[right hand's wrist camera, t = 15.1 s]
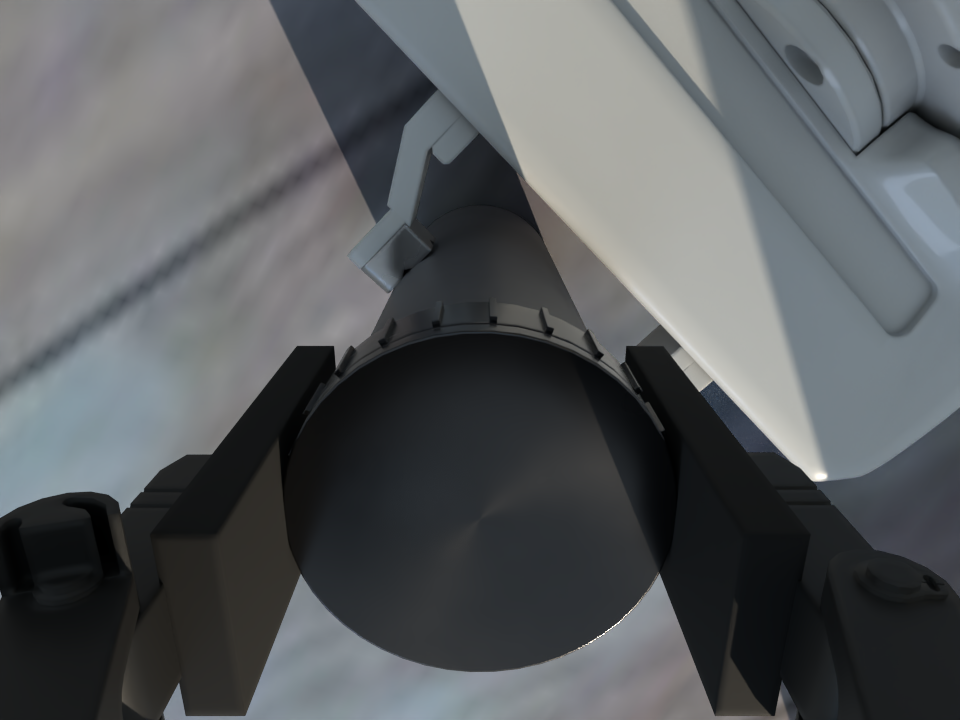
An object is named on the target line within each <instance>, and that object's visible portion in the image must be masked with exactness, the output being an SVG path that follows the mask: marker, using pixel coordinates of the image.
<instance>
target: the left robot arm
mask: <svg viewBox="0 0 960 720" xmlns="http://www.w3.org/2000/svg"><path fill="white" fill-rule="evenodd" d="M355 1H356V2H357V3H358V4H359V5H360V7H361V8H362V9H363V10H364V11H365V12H366V13H367V14H368V15H369V16H370V17H371V18H372V19H373V20H374V21H375V22H376V24H377V25H378V26H379V27H380V28H381V29H382V30H383V31H384V32H385V33H386V34H387V35H388V36H389V37H390V38H391V39H392V40H393V42H394V43H395V44H396V45H397V46H398V47H399V48H400V49H401V50H402V51H403V52H404V53H405V54H406V55H407V56H408V57H409V58H410V60H411V61H412V62H413V63H414V64H415V65H416V66H417V67H418V68H419V69H420V70H421V71H422V72H423V73H424V74H425V75H426V76H427V78H428V79H429V80H430V81H431V82H432V83H433V84H434V85H435V86H436V87H437V88H438V89H437V91H436V92H435V93H434V94H433V95H432V96H431V97H430V98H429V99H428V100H427V102H426V103H425V104H424V105H423V106H422V107H421V108H420V109H419V110H418V111H417V113H416V114H415V115H414V116H413V117H412V118H411V119H410V120H409V121H408V122H407V124H406V125H405V126H404V130H403V134H402V139H401V143H400V148H399V153H398V157H397V162H396V166H395V171H394V176H393V180H392V185H391V189H390V194H389V199H388V203H387V206H388V207H389V208H390V210H389V211H388V212H387V213H386V214H385V215H384V216H383V217H382V219H381V220H380V221H379V222H378V223H377V224H376V225H375V226H374V227H373V228H372V229H371V230H370V231H369V232H368V233H367V234H366V235H365V237H364V238H363V239H362V240H361V241H360V242H359V243H358V244H357V245H356V246H355V247H354V248H353V249H352V250H351V252H350V253H349V254H348V255H347V257H348V258H349V259H350V260H351V261H352V262H353V263H354V264H355V265H356V266H357V267H358V268H359V269H361V270H362V271H363V272H364V273H365V274H366V275H368V276H369V277H370V278H371V279H372V280H373V281H374V282H375V283H376V284H378V285H379V286H380V287H381V288H382V289H383V290H384V291H385V292H386V293H389V292H391V291H392V290H393V289H394V288H395V287H396V286H397V284H398V283H399V282H400V281H401V280H402V278H403V276H404V274H405V272H406V270H407V269H411V268H413V267H415V266H416V265H417V264H418V263H420V262H421V261H422V260H423V259H424V257H425V256H426V255H427V254H428V253H429V252H430V251H431V250H432V248H433V244H434V242H435V239H436V238H435V237H434V236H433V235H432V234H431V233H430V232H429V231H428V230H427V229H426V228H425V227H424V226H423V225H422V224H421V223H420V222H419V221H418V220H417V219H416V218H415V217H416V215H417V211H418V207H419V203H420V199H421V195H422V190H423V186H424V182H425V178H426V174H427V170H428V166H429V162H430V158H431V154H432V151H433V155H434V156H435V157H436V158H437V159H438V160H439V161H440V162H441V163H442V164H450V163H451V162H452V161H453V160H454V159H455V158H456V157H457V156H458V155H459V154H460V153H461V152H462V151H463V150H464V149H465V148H466V147H467V146H468V144H469V143H470V142H471V141H472V140H473V139H474V138H475V137H476V136H477V135H478V134H479V133H480V134H481V135H482V136H483V137H484V138H485V139H486V140H487V141H488V142H489V143H490V144H491V145H492V146H493V147H494V148H495V150H496V151H497V152H498V153H499V154H500V155H501V156H502V157H503V158H504V159H505V160H506V161H507V162H508V163H509V164H510V165H511V166H512V168H513V169H514V170H515V171H516V172H517V173H518V174H519V175H520V176H521V177H522V178H523V179H524V180H525V181H526V182H527V183H528V184H529V186H530V187H531V188H532V189H533V190H534V191H535V192H536V193H537V194H538V195H539V196H540V197H541V198H542V199H543V200H544V201H545V202H546V203H547V205H548V206H549V207H550V208H551V209H552V210H553V211H554V212H555V213H556V214H557V215H558V216H559V217H560V218H561V219H562V220H563V221H564V223H565V224H566V225H567V226H568V227H569V228H570V229H571V230H572V231H573V232H574V233H575V234H576V235H577V236H578V237H579V238H580V239H581V241H582V242H583V243H584V244H585V245H586V246H587V247H588V248H589V249H590V250H591V251H592V252H593V253H594V254H595V255H596V256H597V257H598V259H599V260H600V261H601V262H602V263H603V264H604V265H605V266H606V267H607V268H608V269H609V270H610V271H611V272H612V273H613V274H614V275H615V277H616V278H617V279H618V280H619V281H620V282H621V283H622V284H623V285H624V286H625V287H626V288H627V289H628V290H629V291H630V292H631V293H632V295H633V296H634V297H635V298H636V299H637V300H638V301H639V302H640V303H641V304H642V305H643V306H644V307H645V308H646V309H647V310H648V311H649V313H650V314H651V315H652V316H653V317H654V318H655V319H656V320H657V321H658V322H659V323H660V325H659V326H658V327H657V328H656V329H655V330H653V331H652V332H651V333H650V334H649V335H648V336H647V337H646V338H645V339H643V340H642V341H641V342H640V343H639V344H638V345H637V346H664V347H665V349H666V350H667V351H668V353H669V354H670V355H671V356H672V358H673V359H674V360H675V361H676V363H677V364H678V365H679V367H680V368H681V369H682V370H683V372H684V373H685V374H686V376H687V377H688V378H689V379H690V381H691V382H692V383H693V384H694V386H695V387H696V388H697V390H698V391H699V392H700V391H701V390H702V389H704V388H705V387H706V386H707V385H708V384H710V383H711V382H712V381H713V380H714V381H715V382H716V383H717V385H718V386H719V387H720V388H721V389H722V390H723V391H724V392H725V393H726V394H727V395H728V396H729V397H730V398H731V399H732V400H733V401H734V403H735V404H736V405H737V406H738V407H739V408H740V409H741V410H742V411H743V412H744V413H745V414H746V415H747V416H748V417H749V418H750V419H751V421H752V422H753V423H754V424H755V425H756V426H757V427H758V428H759V429H760V430H761V431H762V432H763V433H764V434H765V435H766V436H767V437H768V438H769V440H770V441H771V442H772V443H773V444H774V445H775V446H776V447H777V448H778V449H779V450H780V451H781V452H782V453H783V454H784V455H785V456H786V457H787V459H788V460H789V461H790V462H791V463H793V464H794V465H796V466H798V467H800V468H801V469H802V470H803V471H804V473H805V474H806V475H807V476H808V477H809V478H810V479H811V480H812V481H832V480H842V479H850V478H857V477H860V476H863V475H865V474H868V473H870V472H872V471H873V470H875V469H877V468H878V467H880V466H882V465H883V464H885V463H887V462H888V461H889V460H891V459H892V458H894V457H895V456H896V455H898V454H899V453H901V452H902V451H903V450H905V449H906V448H908V447H909V446H910V445H912V444H913V443H915V442H916V441H917V440H919V439H920V438H921V437H923V436H924V435H925V434H927V433H928V432H929V431H931V430H932V429H933V428H935V427H936V426H937V425H938V424H940V423H941V422H942V421H944V420H945V419H946V418H947V417H949V416H950V415H951V414H952V413H954V412H955V411H956V410H957V409H959V408H960V0H355Z"/></svg>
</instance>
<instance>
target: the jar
mask: <svg viewBox="0 0 960 720" xmlns="http://www.w3.org/2000/svg"><path fill="white" fill-rule="evenodd" d="M427 230H428V231H429V232H430V233H431V234H432V235H433V236H434V237H435V238H436V239H435V242H434V244H433V248H432V250H431V251H430V252H429V253H428V254H427V255H426V256H425V257H424V259H423V260H422V261H421V262H420V263H418V264H417V265H416V266H415V267H413V268H411V269H407V270H406V272H405V274H404V276H403V278H402V280H401V281H400V282H399V283H398V284H397V286H396V287H395V288H394V290H393V292H392V294H391V296H390V298H389V300H388V302H387V304H386V306H385V308H384V310H383V312H382V314H381V316H380V318H379V320H378V322H377V324H376V326H375V328H374V330H373V332H372V334H371V335H373V334H374V333H376V332H377V331H379V330H381V329H382V328H384V326H385V324H386V322H387V320H388V319H390V318H392V317H393V318H394V320H395V321H397V320H399V319H402V318H404V317H406V316H409V315H411V314H413V313H416V312H419V311H423V310H426V309H430V308H434V307H435V305H436V302H437V301H443V304H444V305H448V304H455V303H462V302H489V297H495V298H496V303H505V304H514V305H518V306H522V307H526V308H530V309H534V310H539V311H540V309H541V307H544V308H547V309H548V312H549V314H550V315H551V316H554V317H557V318H559V319H562V320H563V321H565V322H567V323H569V324H571V325H573V326H574V327H576V328H578V329H580V330H582V331H583V332H586V331H587V330H586V328H585V325H584V323H583V321H582V319H581V317H580V315H579V313H578V311H577V309H576V307H575V305H574V303H573V301H572V299H571V297H570V295H569V293H568V291H567V289H566V287H565V285H564V283H563V281H562V278H561V276H560V274H559V272H558V270H557V268H556V266H555V264H554V262H553V260H552V258H551V256H550V254H549V252H548V250H547V248H546V246H545V244H544V242H543V240H542V239H541V237H540V236H539V234H538V233H537V232H536V231H535V229H534V228H533V227H532V226H531V225H530V224H529V223H527V222H526V221H525V220H524V219H522V218H521V217H519V216H518V215H516V214H514V213H512V212H510V211H508V210H505V209H502V208H499V207H494V206H486V205H474V206H467V207H462V208H459V209H456V210H453V211H450V212H448V213H446V214H444V215H443V216H441V217H440V218H438V219H437V220H435V221H434V222H433V223H432V224H431V225H430V226H429V227H428V228H427Z"/></svg>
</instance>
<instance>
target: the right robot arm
mask: <svg viewBox="0 0 960 720" xmlns="http://www.w3.org/2000/svg"><path fill="white" fill-rule="evenodd" d="M625 363H626V364H627V365H628V367H629V368H630V370H631V372H632V374H633V375H634V377H635V379H636V380H637V382H638V384H639V386H640V387H641V389H642V391H643V392H641V393H640V395H641V397H642V399H643V401H644V402H645V403H647V402H649V403H650V405H651V406H652V408H653V410H654V412H655V413H656V415H657V417H658V418H659V420H660V422H661V424H662V425H663V427H664V429H665V431H666V433H667V436H664V439H665V441H666V444H667V447H668V449H669V452H670V455H671V457H672V461H673V465H674V470H675V475H676V480H677V509H676V517H675V526H674V534H673V540H672V543H671V547H670V550H669V553H668V555H667V558H666V560H665V562H664V565H663V567H662V570H661V571H660V575H661V578H662V580H663V583H664V586H665V588H666V591H667V593H668V596H669V598H670V601H671V604H672V606H673V609H674V611H675V614H676V616H677V619H678V622H679V624H680V627H681V629H682V632H683V634H684V637H685V640H686V642H687V645H688V647H689V650H690V652H691V655H692V658H693V660H694V663H695V665H696V668H697V670H698V673H699V676H700V678H701V681H702V683H703V686H704V688H705V691H706V694H707V696H708V699H709V701H710V704H711V706H712V709H713V712H714V714H715V716H775V711H776V706H777V701H778V696H779V691H780V686H781V681H783V683H784V684H785V686H786V688H787V690H788V692H789V694H790V696H791V698H792V699H793V701H794V703H795V705H796V707H797V714H796V718H795V720H960V598H959V596H958V595H957V594H956V593H955V591H954V590H953V589H952V588H951V587H950V585H949V584H948V583H947V582H946V581H945V580H944V579H942V578H941V577H939V576H938V575H937V574H935V573H934V572H932V571H931V570H929V569H928V568H926V567H924V566H922V565H920V564H918V563H915V562H913V561H911V560H909V559H906V558H904V557H901V556H898V555H894V554H890V553H886V552H882V551H877V550H874V549H873V548H872V547H871V546H870V545H869V544H868V543H867V541H866V540H865V539H864V538H863V537H862V536H861V535H860V534H859V533H858V531H857V530H856V529H855V528H854V527H853V526H852V525H851V524H850V523H849V521H848V520H847V519H846V518H845V517H844V516H843V515H842V514H841V513H840V511H839V510H838V509H837V508H836V507H835V506H834V505H831V504H830V500H829V499H828V498H827V497H826V496H825V495H824V494H823V493H822V491H821V490H817V486H816V485H815V484H814V483H813V481H812V480H811V479H810V478H809V477H808V476H807V475H806V474H805V473H804V471H803V470H802V469H801V468H800V467H798V466H796V465H794V464H793V463H791V462H789V461H788V460H786V459H784V458H782V457H781V456H779V455H777V454H776V453H774V452H746V451H745V450H744V448H743V447H742V446H741V444H740V443H739V442H738V441H737V439H736V438H735V437H734V436H733V434H732V433H731V432H730V430H729V429H728V428H727V427H726V425H725V424H724V423H723V421H722V420H721V419H720V418H719V416H718V415H717V414H716V413H715V411H714V410H713V409H712V407H711V406H710V405H709V404H708V402H707V401H706V400H705V398H704V397H703V396H702V395H701V393H700V392H699V391H698V390H697V388H696V387H695V386H694V384H693V383H692V382H691V381H690V379H689V378H688V377H687V376H686V374H685V373H684V372H683V370H682V369H681V368H680V367H679V365H678V364H677V363H676V361H675V360H674V359H673V358H672V356H671V355H670V354H669V353H668V351H667V350H666V349H665V347H664V346H626V358H625ZM335 370H336V365H335V353H334V346H297V347H296V348H295V349H294V351H293V352H292V353H291V354H290V356H289V357H288V358H287V359H286V361H285V362H284V363H283V365H282V366H281V367H280V368H279V370H278V371H277V372H276V374H275V375H274V376H273V377H272V379H271V380H270V381H269V382H268V384H267V385H266V386H265V388H264V389H263V390H262V391H261V393H260V394H259V395H258V397H257V398H256V399H255V400H254V402H253V403H252V404H251V405H250V407H249V408H248V409H247V411H246V412H245V413H244V414H243V416H242V417H241V418H240V419H239V421H238V422H237V423H236V425H235V426H234V427H233V428H232V430H231V431H230V432H229V434H228V435H227V436H226V437H225V439H224V440H223V441H222V442H221V444H220V445H219V446H218V448H217V449H216V450H215V451H214V453H213V454H212V455H186V456H184V457H182V458H181V459H179V460H177V461H175V462H174V463H172V464H170V465H169V466H167V467H165V468H164V469H162V470H160V471H159V473H158V474H157V475H156V476H155V477H154V478H153V479H152V480H151V481H150V483H149V484H148V485H147V486H146V487H145V488H144V492H141V493H140V494H139V495H138V496H137V497H136V498H135V499H134V501H133V502H132V503H131V506H130V508H126V509H125V511H124V512H123V513H122V514H121V512H120V508H119V503H118V502H117V501H116V500H115V499H113V498H112V497H110V496H109V495H106V494H101V493H95V492H75V493H65V494H61V495H56V496H51V497H47V498H42V499H40V500H37V501H35V502H32V503H29V504H27V505H24V506H21V507H19V508H17V509H15V510H13V511H12V512H10V513H8V514H6V515H5V516H3V517H1V518H0V592H1V595H2V598H1V600H0V720H165V718H164V714H163V711H164V710H165V708H166V706H167V704H168V702H169V700H170V698H171V696H172V694H173V693H174V691H175V689H176V687H177V685H178V683H179V684H180V689H181V694H182V699H183V704H184V709H185V714H186V716H245V715H246V713H247V710H248V708H249V705H250V702H251V700H252V697H253V695H254V692H255V690H256V687H257V684H258V682H259V679H260V677H261V674H262V672H263V669H264V666H265V664H266V661H267V659H268V656H269V654H270V651H271V648H272V646H273V643H274V641H275V638H276V636H277V633H278V630H279V628H280V625H281V623H282V620H283V618H284V615H285V612H286V610H287V607H288V605H289V602H290V600H291V597H292V594H293V592H294V589H295V587H296V584H297V582H298V579H299V576H300V574H301V573H300V570H299V568H298V566H297V564H296V562H295V559H294V557H293V555H292V552H291V549H290V546H289V542H288V537H287V530H286V521H285V513H284V503H283V482H284V476H285V471H286V465H287V461H288V453H289V451H290V449H291V448H292V446H293V444H294V441H295V439H296V437H297V435H298V433H299V431H300V429H301V428H302V426H303V424H304V422H305V420H306V418H307V416H305V415H303V412H304V410H305V409H306V407H307V405H308V404H309V402H310V400H311V399H312V397H313V395H314V394H315V392H316V390H317V388H318V387H319V385H320V383H323V384H325V385H326V383H327V381H328V380H329V379H330V377H331V376H332V375H333V373H334V372H335Z"/></svg>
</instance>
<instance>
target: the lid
mask: <svg viewBox="0 0 960 720" xmlns="http://www.w3.org/2000/svg"><path fill="white" fill-rule="evenodd" d="M641 392H643V391H642V389H641V387H640V386H639V384H638V382H637V380H636V379H635V377H634V375H633V374H632V372H631V370H630V368H629V367H628V365H627V364H626V363H625V362H624V363H622V364H621V365H620V363H619V362H618V361H617V360H616V359H615V358H614V357H613V356H612V355H611V354H610V353H609V352H608V351H607V350H606V349H605V348H604V347H603V346H602V345H601V344H599V343H598V341H597V339H596V337H595V335H594V333H593V332H592V331H590V330H589V329H588V330H587V331H586V332H583V331H582V330H580V329H578V328H576V327H574V326H573V325H571V324H569V323H567V322H565V321H563V320H562V319H559V318H557V317H554V316H551V315H550V314H549V312H548V309H547V308H544V307H541V309H540V311H539V310H534V309H530V308H526V307H522V306H518V305H514V304H505V303H496V298H495V297H489V302H462V303H455V304H448V305H444V304H443V301H437V302H436V305H435V307H434V308H430V309H426V310H423V311H419V312H416V313H413V314H411V315H409V316H406V317H404V318H402V319H399V320H397V321H395V320H394V318H393V317H392V318H390V319H388V320H387V322H386V324H385V326H384V328H382V329H381V330H379V331H377V332H376V333H374V334H373V335H371V336H370V337H369V338H368V339H366V340H365V341H364V342H362V343H361V344H360V345H359V346H357V347H356V348H353V347H352V346H350V347H349V348H348V349H347V350H346V352H345V354H344V356H343V357H342V359H341V361H340V363H339V364H338V366H337V368H336V370H335V372H334V373H333V375H332V376H331V377H330V379H329V380H328V381H327V383H326V385H325V384H323V383H320V385H319V387H318V388H317V390H316V392H315V394H314V395H313V397H312V399H311V400H310V402H309V404H308V405H307V407H306V409H305V410H304V412H303V415H305V416H307V418H306V420H305V422H304V424H303V426H302V428H301V429H300V431H299V433H298V435H297V437H296V439H295V441H294V444H293V446H292V448H291V449H290V451H289V453H288V461H287V465H286V471H285V476H284V482H283V503H284V513H285V521H286V530H287V537H288V542H289V546H290V549H291V552H292V555H293V557H294V559H295V562H296V564H297V566H298V568H299V570H300V573H301V574H302V576H303V578H304V579H305V581H306V582H307V584H308V586H309V587H310V589H311V590H312V592H313V593H314V594H315V596H316V597H317V598H318V599H319V600H320V602H321V603H322V604H323V605H324V606H325V608H326V609H327V610H328V611H329V612H330V613H331V614H333V615H334V616H335V617H336V618H337V619H338V620H339V621H340V622H341V623H342V624H343V625H345V626H346V627H347V628H349V629H350V630H351V631H353V632H354V633H355V634H357V635H358V636H360V637H361V638H363V639H364V640H366V641H368V642H370V643H371V644H373V645H375V646H377V647H378V648H380V649H382V650H384V651H387V652H389V653H391V654H394V655H396V656H398V657H401V658H403V659H406V660H410V661H413V662H416V663H419V664H422V665H426V666H431V667H436V668H441V669H446V670H456V671H467V672H496V671H504V670H513V669H520V668H524V667H529V666H534V665H538V664H542V663H545V662H548V661H551V660H554V659H557V658H560V657H563V656H565V655H567V654H569V653H572V652H574V651H576V650H578V649H580V648H582V647H584V646H586V645H588V644H589V643H591V642H593V641H594V640H596V639H598V638H599V637H601V636H603V635H604V634H605V633H607V632H608V631H609V630H610V629H612V628H613V627H614V626H616V625H617V624H618V623H620V622H621V621H622V620H623V619H624V618H625V617H626V616H627V615H628V614H629V613H630V612H631V611H632V610H633V609H634V608H635V607H636V606H637V605H638V604H639V602H640V601H641V600H642V598H643V597H644V596H645V595H646V593H647V592H648V591H649V590H650V588H651V587H652V585H653V583H654V581H655V580H656V578H657V576H658V575H659V573H660V571H661V570H662V567H663V565H664V562H665V560H666V558H667V555H668V553H669V550H670V547H671V543H672V540H673V534H674V526H675V517H676V509H677V480H676V475H675V470H674V465H673V461H672V457H671V455H670V452H669V449H668V447H667V444H666V441H665V439H664V436H667V433H666V431H665V429H664V427H663V425H662V424H661V422H660V420H659V418H658V417H657V415H656V413H655V412H654V410H653V408H652V406H651V405H650V403H649V402H647V403H645V402H644V401H643V399H642V397H641V395H640V393H641Z"/></svg>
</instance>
